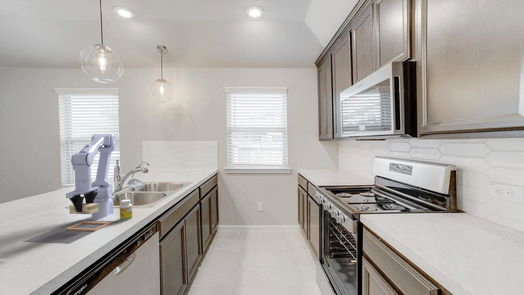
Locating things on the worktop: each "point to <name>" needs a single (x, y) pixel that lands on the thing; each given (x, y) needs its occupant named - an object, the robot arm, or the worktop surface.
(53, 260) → the worktop surface
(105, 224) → the terracotta frame
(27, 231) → the worktop surface
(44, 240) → the rubber mat
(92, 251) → the worktop surface
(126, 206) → the supplement bottle
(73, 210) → the cream long block
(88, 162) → the robot arm
